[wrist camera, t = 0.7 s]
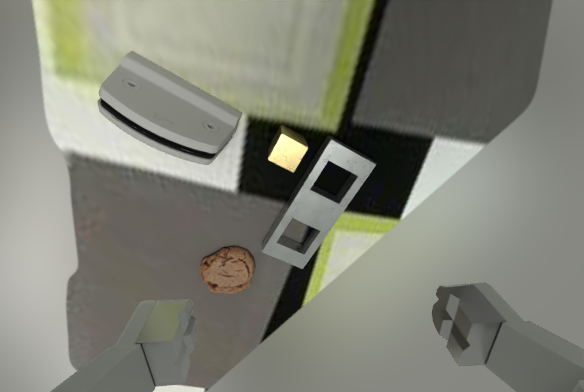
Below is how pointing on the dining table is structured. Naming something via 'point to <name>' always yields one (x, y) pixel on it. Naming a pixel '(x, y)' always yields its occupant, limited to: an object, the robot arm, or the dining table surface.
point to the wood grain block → (287, 148)
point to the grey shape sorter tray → (317, 202)
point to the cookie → (228, 270)
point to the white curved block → (166, 111)
